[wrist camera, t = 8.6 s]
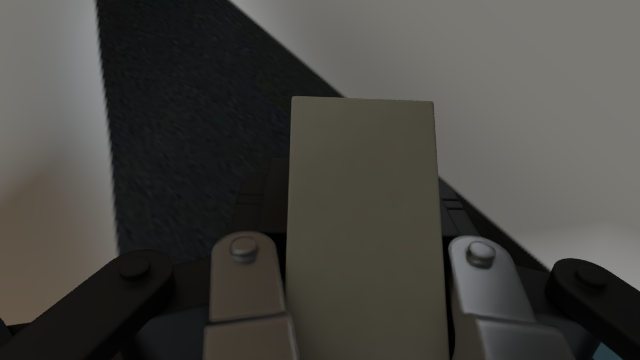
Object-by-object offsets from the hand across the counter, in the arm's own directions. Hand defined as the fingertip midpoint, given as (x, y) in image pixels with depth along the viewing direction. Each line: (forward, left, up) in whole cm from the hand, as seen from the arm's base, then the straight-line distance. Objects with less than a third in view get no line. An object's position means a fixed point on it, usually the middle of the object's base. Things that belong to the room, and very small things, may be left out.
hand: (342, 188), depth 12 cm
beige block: (0, -2, -5) cm, 5 cm away
